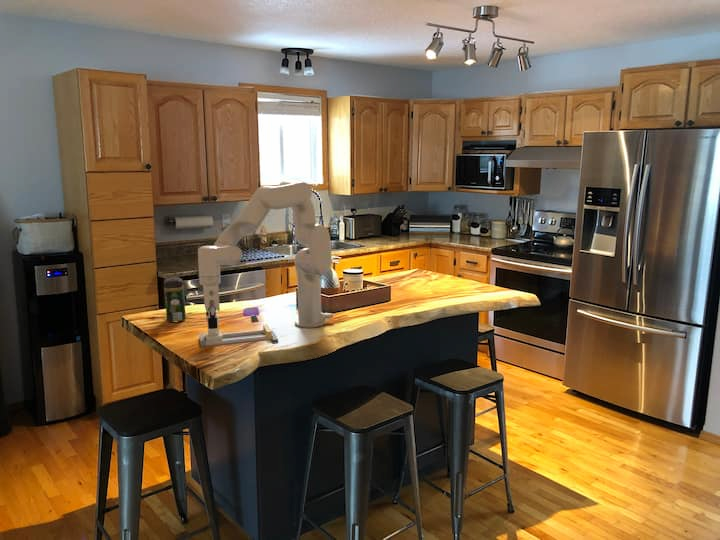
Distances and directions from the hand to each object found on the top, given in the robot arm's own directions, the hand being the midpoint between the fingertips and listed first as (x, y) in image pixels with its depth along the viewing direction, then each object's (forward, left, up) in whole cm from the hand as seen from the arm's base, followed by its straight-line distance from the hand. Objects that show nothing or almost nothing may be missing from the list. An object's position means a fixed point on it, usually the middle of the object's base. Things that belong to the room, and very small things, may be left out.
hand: (211, 324), depth 219 cm
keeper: (0, 0, -6) cm, 6 cm away
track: (-9, 0, -8) cm, 12 cm away
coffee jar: (+13, -40, -8) cm, 43 cm away
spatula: (-19, -30, -8) cm, 37 cm away
